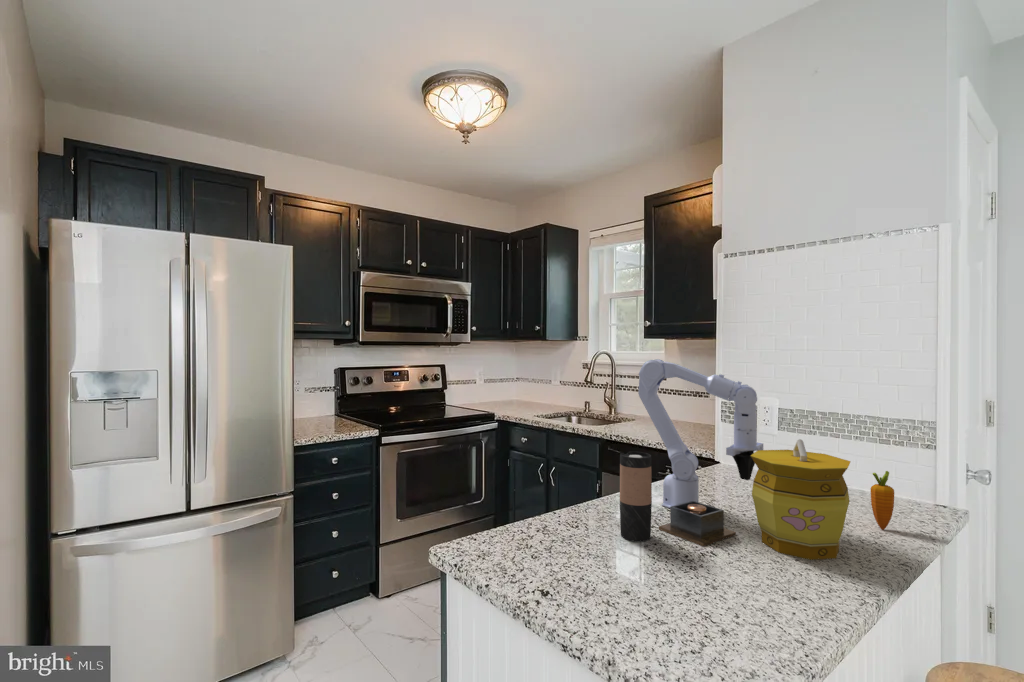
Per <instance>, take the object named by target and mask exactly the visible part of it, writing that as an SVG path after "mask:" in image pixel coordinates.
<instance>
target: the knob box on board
mask: <svg viewBox="0 0 1024 682" xmlns="http://www.w3.org/2000/svg"><path fill="white" fill-rule="evenodd" d="M689 504H699V505H703V506H705V507H706V513H703V514H699V515H697V514H695V513H692V512H689V511H688V505H689ZM669 509H670V511H669V512H670V517H669V518H670V519H669V520H670V521H669V523H666V524H662V525H658V530H660V531H662V532H665V533H667V534H668V535H669V534H670V535H672V536H674V537H678V538H680V539H683V540H685V541H687V542H690V543H693V544H696V545H699V546H701V547H706V546H708V545H711V544H715V543H717V542H720V541H723V540H726V539H729V538H732V537H735V536H737V532H736V531H733V530H732V529H728V528H725V524H724V523H725V522H724V521H725V520H724V519H725V510H724V509H722V508H718V507H716V506H714V505H710V504H706V503H705V504H704V503H701V502H695V501H690V502H686V503H682V504H678V505H675V506H671V507H670V508H669Z"/></svg>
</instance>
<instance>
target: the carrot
mask: <svg viewBox="0 0 1024 682" xmlns="http://www.w3.org/2000/svg"><path fill="white" fill-rule="evenodd" d="M872 475H873V477H874V478H875V480H876V482H877V483H876V484H872V486H871V487H870V504H871V511H872V514H873V518H874V519H875V521H876V523H877V525H878V527H879V528H880V529H881V531H885V529H887V527H888V525H889V524H890V522H891V519H892V517H893V512H894V507H895V506H894V505H895V489H894V488H893V487H891V486H890V485H887V484H886V483H887V482H888V480H889V475H890V471H888V470H885V473H884V474H883V476H882V477H881V476H880V477H879V475H878V474H877V473H876V472H872Z"/></svg>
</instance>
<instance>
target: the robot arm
mask: <svg viewBox="0 0 1024 682" xmlns="http://www.w3.org/2000/svg"><path fill="white" fill-rule="evenodd" d="M638 378H639V379H638V380H639V381H638V392H637V393H638V397H639V399H640V401H641V402H642V405H643V407H644V408H645V410H646V412H647V414H648V416H649V418H650V419H651V421H652V423H653V425H654V427H655V429H656V431H657V433H658V435H659V437H660V438H661V440H662V442H663V443H664V446H665V448H666V449H667V454H668V455H667V456H668V459H669V460H670V462H671V471H672V474H671V473H670V474H668V475H666V476H665V477H664V480H663V484H662V486H663V487H662V492H663V493H662V494H663V496H662V503H661V506H662V507H665V508H668V509H670V507H671V506H675V505H678V504H682V503H686V502H690V501H695V502H699V492H700V491H699V476H698V475H697V473H696V470H697V469H698V467H699V459H698V457H697V456H696V454H694V453H693V452H692V451H690V449H689V448H688V446H687V445H686V444H685V442H683V439H682V437H681V436H680V434H679V432H678V430H677V428H676V426H675V425H674V423H673V422H672V419H671V418H670V416H669V415H670V414H668V412H667V410H666V408H665V406H664V404H663V403H662V401H661V399H660V397H659V395H658V391H659V388H660V386H661V383H662V382H663V381H664V380H665V379H671V378H672V379H673V378H679V379H681V380H684V381H687V382H690V383H693V384H695V385H698V386H701V387H704V389H705V391H706V393H707V394H709V395H712V396H714V397H717V398H720V399H722V400H725V401H728V402H733V403H734V412H733V444H732V445H730V446H728V447H725V448H726V449H725V450H726V451H725V454H726V456H731V457H732V458H733V460H734V462H735V464H736V467H737V471H738V474H739V478H740V480H745V481H749V480H751V477H752V473H753V470H754V467H755V465H756V464H755V462H754V461H753V459H752V457H751V455H752V454H753V453H755V452H756V451H758V450H764V443H763V442H758V441H757V439H758V434H757V433H758V425H757V424H758V420H757V419H758V414H757V412H756V411H757V406H756V405H757V402H758V396H757V392H756V390H755V389H754V388H753V387H752V386H751V385H748V384H742V381H740V380H737V381H736V380H732V379H729V378H727V377H725V375H724V374H721V373H719V374H716V373H715V374H712V375H710V376H708V375H705V374H703V373H700V372H697V371H695V370H693V369H691V368H688V367H685V366H683V365H680V364H677V363H675V362H670V361H665V360H662V359H659V358H657V359H649V360H646V361H645V362H644V363H643V364H642V366H641V367H640V370H639V372H638ZM699 503H700V502H699Z"/></svg>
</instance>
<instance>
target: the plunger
mask: <svg viewBox="0 0 1024 682" xmlns="http://www.w3.org/2000/svg"><path fill="white" fill-rule="evenodd" d="M688 511H689V512H692V513H695V514H697V515H699V514H703V513H706V507H705V506H703V505H699V504H689V505H688Z"/></svg>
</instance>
